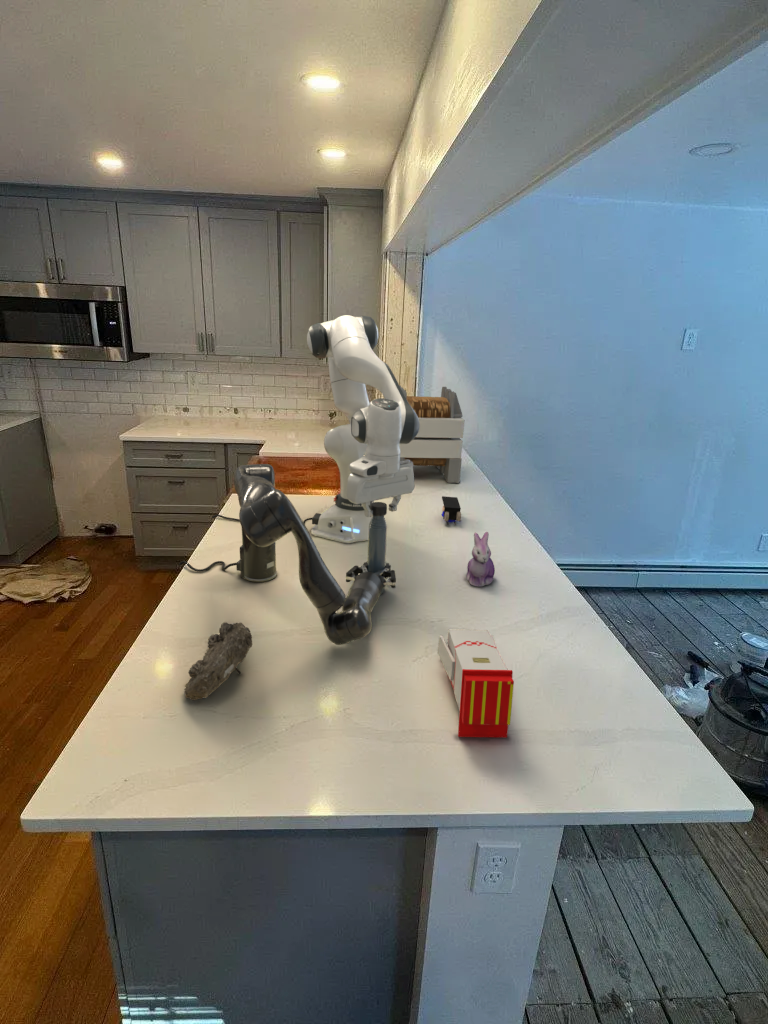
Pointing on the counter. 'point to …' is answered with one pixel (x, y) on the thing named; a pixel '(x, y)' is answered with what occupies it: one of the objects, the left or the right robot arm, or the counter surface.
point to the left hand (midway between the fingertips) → (377, 565)
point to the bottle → (377, 544)
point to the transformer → (437, 434)
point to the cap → (379, 508)
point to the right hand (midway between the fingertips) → (380, 513)
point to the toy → (478, 682)
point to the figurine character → (451, 509)
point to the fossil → (218, 660)
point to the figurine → (480, 562)
